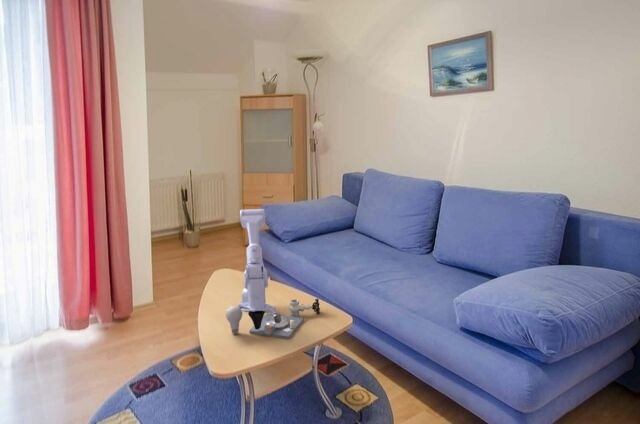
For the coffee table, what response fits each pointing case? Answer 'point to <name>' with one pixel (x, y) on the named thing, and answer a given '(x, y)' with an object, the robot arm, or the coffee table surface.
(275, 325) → the silver lidded pan
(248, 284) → the robot arm
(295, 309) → the valve
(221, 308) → the coffee table surface
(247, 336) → the coffee table surface
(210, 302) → the coffee table surface
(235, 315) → the lightbulb
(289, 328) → the board
